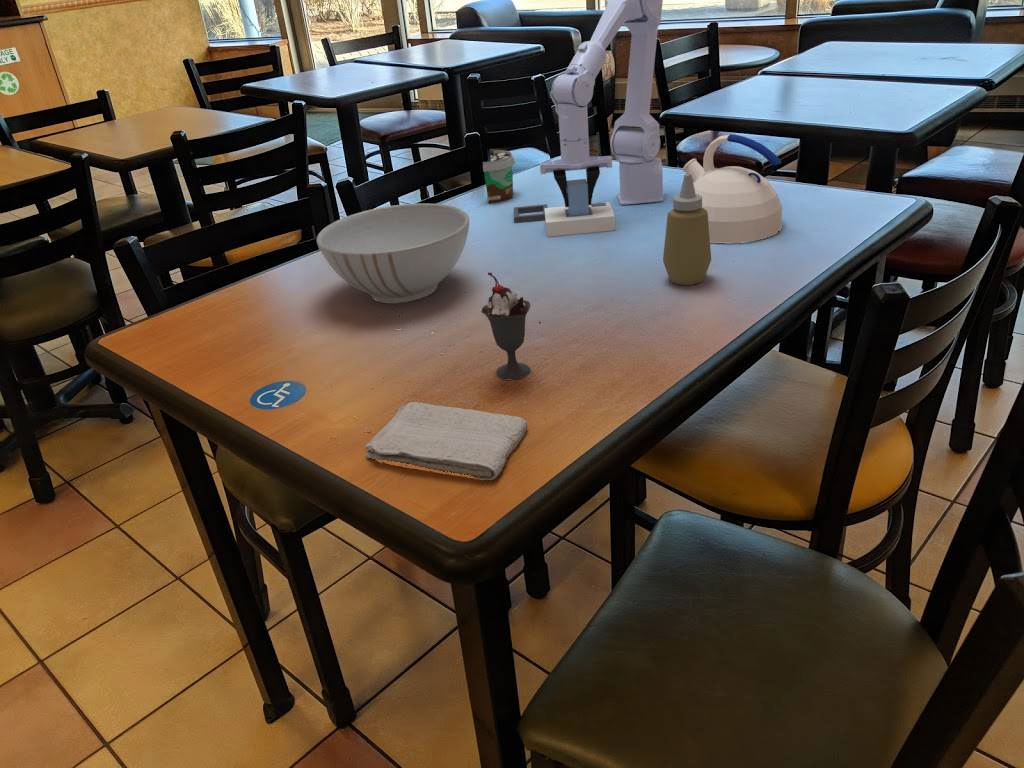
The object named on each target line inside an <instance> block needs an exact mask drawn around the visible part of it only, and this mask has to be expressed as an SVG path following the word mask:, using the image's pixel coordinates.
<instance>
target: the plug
mask: <svg viewBox="0 0 1024 768" xmlns="http://www.w3.org/2000/svg"><path fill="white" fill-rule="evenodd" d="M567 195H568V202H569V207H568V214H569V217H575V216H585V215H589V204H588V184H587V178H581V179H570V180H568V179H567Z"/></svg>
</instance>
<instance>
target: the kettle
mask: <svg viewBox="0 0 1024 768" xmlns="http://www.w3.org/2000/svg"><path fill="white" fill-rule="evenodd" d="M726 142H730V143H734V144H739V145H742V146H744V147H747V148H749V149H750V150H753V151H755V152H757V153H759V154H760V155H762V156H763V158H765V159H766V160H767V161H768V162H769V163H770V165H771V166H777V165H780V164H782V163H783V162H782V161H781V159H780V158H779V156H777V155H776V154H775V153H774V152H773V151H772V150H771V149H769V148H768V147H766V146H765V145H764V144H762V143H760V142H759V141H756V140H754V139H751V138H748V137H745V136H743V135H738V134H731V133H730V134H726V135H720V136H718V137H716V138H715V139H714V140H713V141H711V142H710V143H709V144H708V147H706V149H705V152H704V155H703V157H702V158H703V160H702V161H703V162H702V165H703V166H702V165H701V164H700V163H699V162H698V161H697V158H692V159H690V160H689V161H688V162H686V163H685V164H684V166H683V168H682V171H683V172H684V173H685V174H691V175H692V179H693V184H694V189H695V194H699V195H701V196H702V208H704V209H705V210H706V211H707V213H708V224H709V236H710V244H714V243H739V244H742V243H741V242H748V243H750V242H749V241H755V242H757V241H756V240H759V241H761V240H760V239H762V240H765V239H764V238H766V239H768V238H770V236H771V237H773V236H775V235H776V234H777V233H779V232H781V230H782V228H783V220H782V219H783V215H782V204H781V201H780V198H779V196H778V195H779V194H778V193H777V191H776V189H775V188H774V186H773V185H772V184H771V183H770V181H769V180H768V179H767V178H765V177H764V176H762V175H761V174H760V173H758V172H757V171H755V170H752V169H749V168H745V167H742V166H736V165H735V166H732V165H731V166H723V167H719V168H718V167H715V165H714V155H715V151H716V149H717V148H718V147H719V145H721V144H723V143H726ZM778 231H779V232H778ZM774 234H775V235H774ZM772 235H773V236H772ZM767 237H768V238H767Z"/></svg>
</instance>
